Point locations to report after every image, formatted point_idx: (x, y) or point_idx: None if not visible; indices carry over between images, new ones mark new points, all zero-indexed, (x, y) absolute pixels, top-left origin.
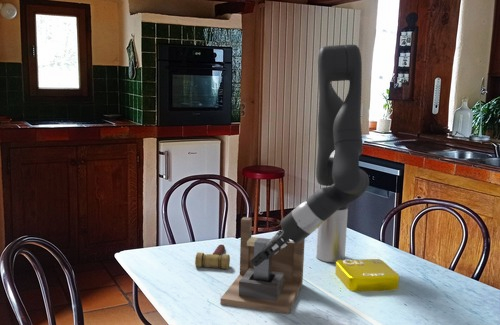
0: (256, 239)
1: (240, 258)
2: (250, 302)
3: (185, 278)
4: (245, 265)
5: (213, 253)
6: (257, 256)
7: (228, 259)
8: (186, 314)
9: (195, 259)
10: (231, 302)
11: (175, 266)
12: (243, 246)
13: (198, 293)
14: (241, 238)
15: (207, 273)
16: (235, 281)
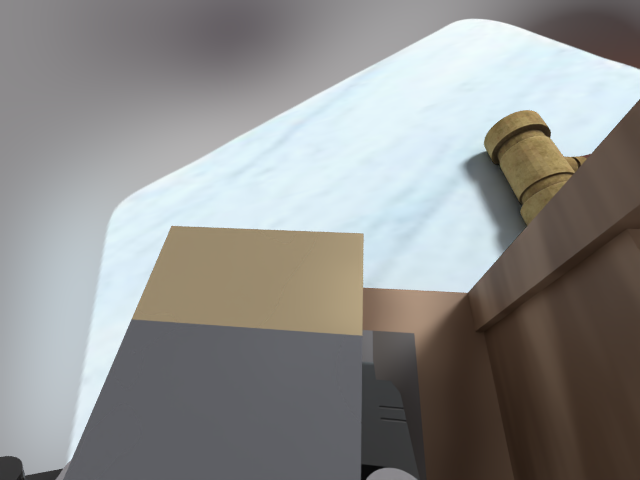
0: (263, 325)
1: (500, 258)
2: None
3: (386, 152)
4: (491, 300)
5: None
6: None
7: None
8: (144, 221)
9: (493, 126)
10: None
11: (460, 111)
12: (546, 230)
13: (289, 209)
14: (578, 177)
15: (456, 190)
16: (382, 294)
